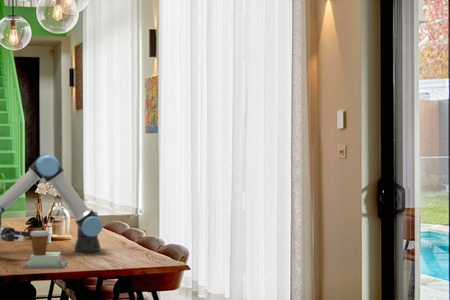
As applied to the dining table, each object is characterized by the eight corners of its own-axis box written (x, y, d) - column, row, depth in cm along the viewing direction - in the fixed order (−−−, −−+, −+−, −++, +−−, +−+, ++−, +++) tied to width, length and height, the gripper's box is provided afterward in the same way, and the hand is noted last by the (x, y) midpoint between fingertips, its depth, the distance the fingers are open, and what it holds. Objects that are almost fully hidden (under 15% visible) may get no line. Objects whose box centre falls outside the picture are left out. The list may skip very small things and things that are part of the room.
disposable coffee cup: (37, 256, 392) (38, 232, 392) (26, 254, 398) (26, 231, 398) (52, 254, 400) (52, 231, 399) (41, 252, 406) (41, 229, 405)
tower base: (67, 262, 412) (67, 250, 412) (63, 268, 392) (63, 256, 392) (28, 262, 410) (29, 251, 409) (23, 268, 390) (23, 257, 390)
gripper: (23, 238, 428) (50, 241, 416) (-13, 243, 407) (14, 246, 396) (23, 225, 428) (50, 227, 416) (-13, 229, 407) (14, 232, 395)
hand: (33, 237), depth 406 cm, fingers open, 13 cm apart
